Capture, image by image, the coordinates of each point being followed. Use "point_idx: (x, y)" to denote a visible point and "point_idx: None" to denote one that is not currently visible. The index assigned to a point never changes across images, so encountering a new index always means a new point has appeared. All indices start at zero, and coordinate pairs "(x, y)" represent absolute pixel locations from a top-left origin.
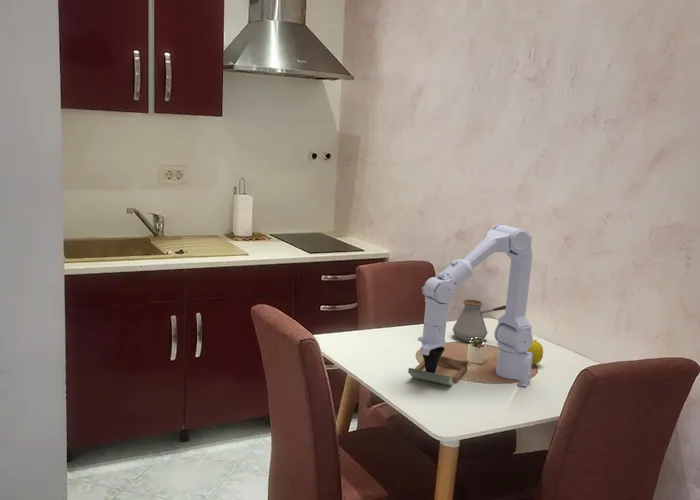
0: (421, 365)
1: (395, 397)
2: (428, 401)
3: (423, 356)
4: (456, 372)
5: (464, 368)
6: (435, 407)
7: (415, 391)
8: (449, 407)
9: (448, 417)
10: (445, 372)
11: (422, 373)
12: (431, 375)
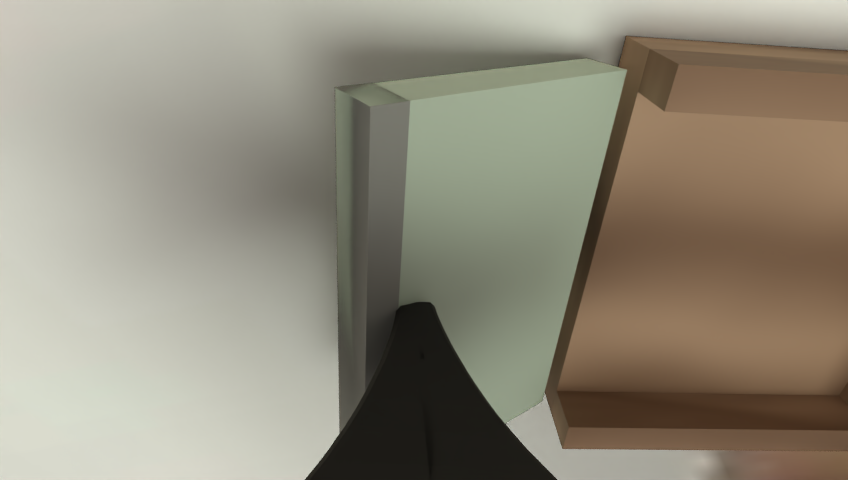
0: (834, 114)
1: (26, 4)
2: (180, 285)
3: (316, 468)
4: (801, 370)
5: (816, 448)
6: (112, 346)
7: (317, 143)
8: (186, 410)
9: (29, 434)
10: (782, 305)
11: (350, 277)
12: (348, 364)
